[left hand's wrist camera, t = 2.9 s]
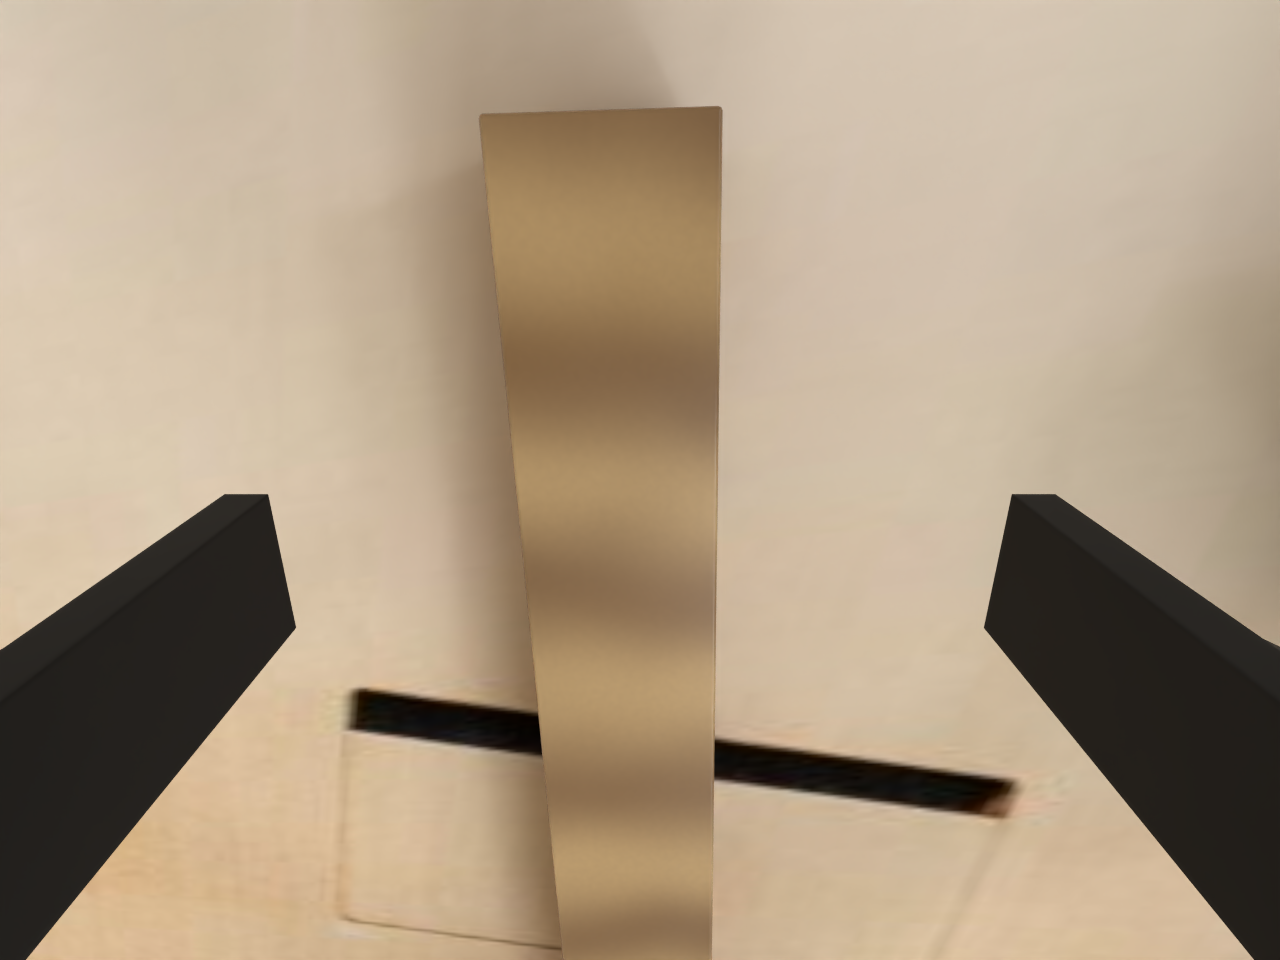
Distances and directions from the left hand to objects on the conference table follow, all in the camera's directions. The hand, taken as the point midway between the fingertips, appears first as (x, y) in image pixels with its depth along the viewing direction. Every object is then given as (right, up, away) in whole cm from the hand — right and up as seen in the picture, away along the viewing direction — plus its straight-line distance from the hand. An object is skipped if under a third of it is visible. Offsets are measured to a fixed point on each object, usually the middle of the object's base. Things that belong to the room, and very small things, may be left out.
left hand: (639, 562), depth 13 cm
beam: (0, -18, +23) cm, 30 cm away
